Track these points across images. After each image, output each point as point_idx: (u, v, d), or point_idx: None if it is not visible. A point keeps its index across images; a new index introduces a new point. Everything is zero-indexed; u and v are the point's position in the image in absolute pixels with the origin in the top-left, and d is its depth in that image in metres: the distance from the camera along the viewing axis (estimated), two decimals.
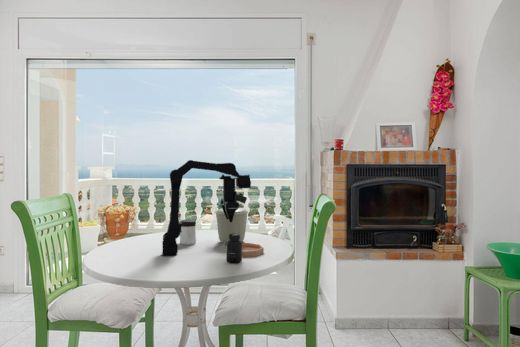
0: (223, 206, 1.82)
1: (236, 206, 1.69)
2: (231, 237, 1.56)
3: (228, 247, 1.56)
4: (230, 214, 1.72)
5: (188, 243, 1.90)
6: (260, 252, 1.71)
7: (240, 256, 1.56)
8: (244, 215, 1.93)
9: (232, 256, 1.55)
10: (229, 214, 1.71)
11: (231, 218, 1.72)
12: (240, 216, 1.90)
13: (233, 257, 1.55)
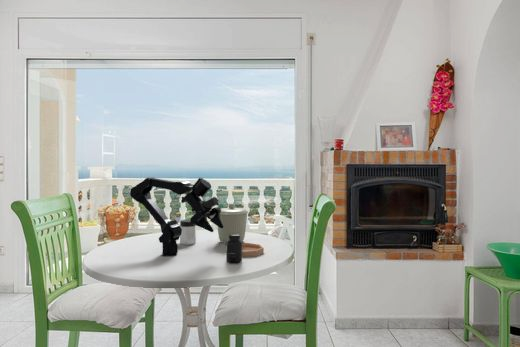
0: (211, 220, 1.68)
1: (198, 216, 1.54)
2: (231, 237, 1.56)
3: (228, 247, 1.56)
4: (205, 225, 1.56)
5: (188, 243, 1.90)
6: (260, 252, 1.71)
7: (240, 256, 1.56)
8: (244, 215, 1.93)
9: (232, 256, 1.55)
10: (204, 226, 1.57)
11: (209, 228, 1.56)
12: (240, 216, 1.90)
13: (233, 257, 1.55)
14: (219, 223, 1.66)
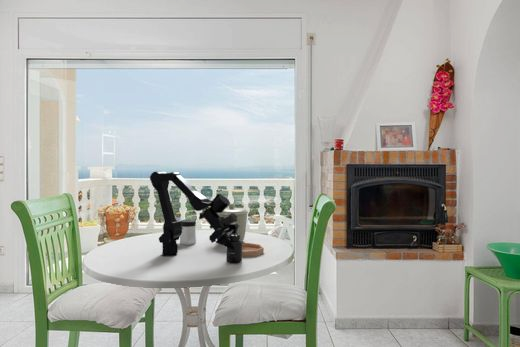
0: (228, 236, 1.63)
1: (217, 234, 1.50)
2: (231, 237, 1.56)
3: None
4: (225, 243, 1.54)
5: (188, 243, 1.90)
6: (260, 252, 1.71)
7: (240, 256, 1.56)
8: (244, 215, 1.93)
9: (232, 256, 1.55)
10: (225, 243, 1.54)
11: (230, 245, 1.54)
12: (240, 216, 1.90)
13: (233, 257, 1.55)
14: None
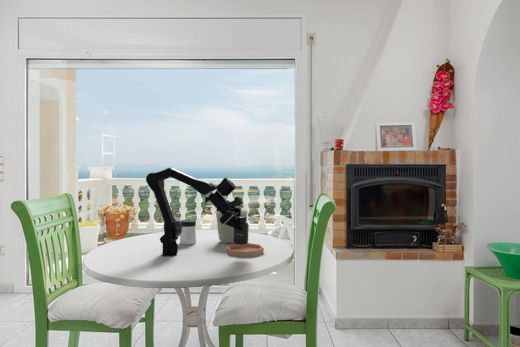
0: None
1: (228, 215, 1.56)
2: (239, 219, 1.62)
3: (236, 229, 1.62)
4: (234, 224, 1.60)
5: (188, 243, 1.90)
6: (260, 252, 1.71)
7: (247, 237, 1.63)
8: (244, 215, 1.93)
9: (240, 238, 1.61)
10: (233, 225, 1.60)
11: (238, 227, 1.60)
12: None
13: (241, 238, 1.61)
14: None
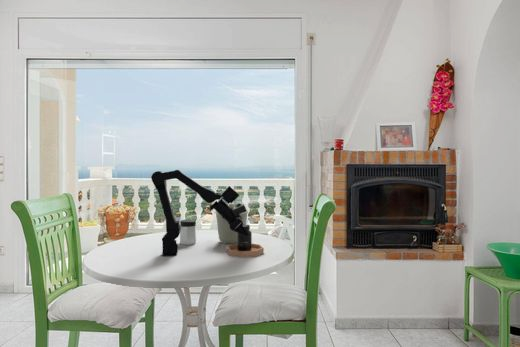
0: None
1: (239, 222, 1.65)
2: None
3: (242, 237, 1.71)
4: (241, 230, 1.69)
5: (188, 243, 1.90)
6: (260, 252, 1.71)
7: (251, 244, 1.74)
8: (244, 215, 1.93)
9: (246, 245, 1.71)
10: (241, 231, 1.68)
11: (245, 232, 1.69)
12: None
13: (247, 246, 1.72)
14: None
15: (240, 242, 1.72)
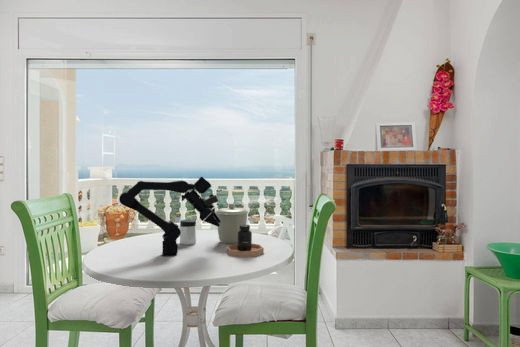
0: None
1: (208, 212, 1.65)
2: (244, 228, 1.72)
3: (242, 237, 1.71)
4: (212, 221, 1.69)
5: (188, 243, 1.90)
6: (260, 252, 1.71)
7: (251, 244, 1.74)
8: (244, 215, 1.93)
9: (246, 245, 1.71)
10: (211, 221, 1.69)
11: (216, 223, 1.69)
12: (240, 216, 1.90)
13: (247, 246, 1.72)
14: (216, 218, 1.79)
15: (240, 242, 1.72)
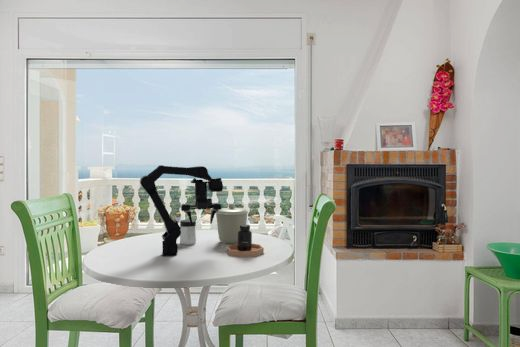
0: (211, 210, 1.79)
1: (181, 209, 1.72)
2: (244, 228, 1.72)
3: (242, 237, 1.71)
4: (189, 216, 1.75)
5: (188, 243, 1.90)
6: (260, 252, 1.71)
7: (251, 244, 1.74)
8: (244, 215, 1.93)
9: (246, 245, 1.71)
10: None
11: (190, 221, 1.74)
12: (240, 216, 1.90)
13: (247, 246, 1.72)
14: (210, 219, 1.77)
15: (240, 242, 1.72)
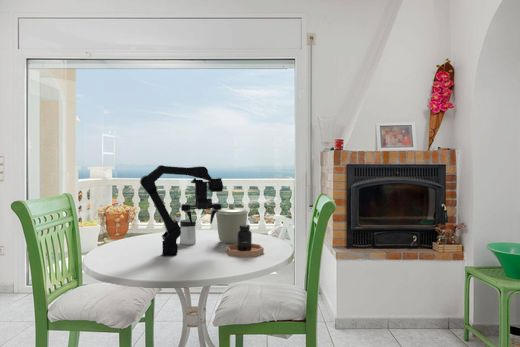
0: (211, 210, 1.79)
1: (181, 209, 1.72)
2: (244, 228, 1.72)
3: (241, 237, 1.71)
4: (189, 216, 1.75)
5: (188, 243, 1.90)
6: (260, 252, 1.71)
7: (251, 244, 1.74)
8: (244, 215, 1.93)
9: (246, 245, 1.71)
10: None
11: (190, 221, 1.74)
12: (240, 216, 1.90)
13: (247, 246, 1.72)
14: (210, 219, 1.77)
15: (240, 242, 1.72)
